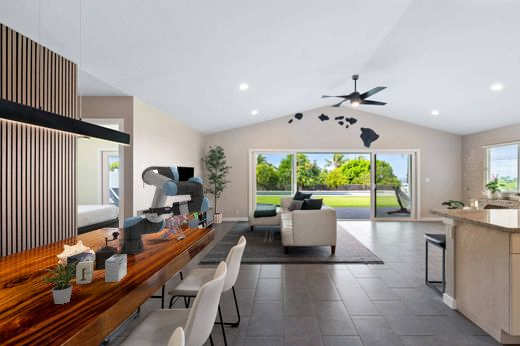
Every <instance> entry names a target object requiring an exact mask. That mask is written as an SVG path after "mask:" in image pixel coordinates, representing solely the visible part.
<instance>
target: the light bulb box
mask: <svg viewBox="0 0 520 346" xmlns="http://www.w3.org/2000/svg"><path fill="white" fill-rule="evenodd" d="M127 255H128V254H121V253H120V254H117V255H113V256H112V257H110V258H109V259H107V260H106V261H105V269H104V273H105V276H104V279H105V280H104V281H105V283H112V282H114V283H115V282H116V283H117V282H120V281H121V280H122V279H123V278H124V277H125V276H126V275H127V268H128V267H127V265H128V264H127V263H128V261H127V260H128V259H127V257H128V256H127Z"/></svg>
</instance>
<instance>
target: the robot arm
mask: <svg viewBox="0 0 520 346" xmlns="http://www.w3.org/2000/svg"><path fill="white" fill-rule="evenodd" d="M179 178H180V177H179V172H178V169H177V168H176V167H175V166H163V165H162V166H160V165H158V166H157V165H156V166H155V165H153V166H149V167H146V168H144V170H143V171H142V173H141V180H142V182H143V183H145V184H146V185H148V186H154V187H155V191H154V194H153V197H152V198H153V199H152V201H151V205H150V207H148V209H140V210H136V216H131V217H127V218H126V219H124V220H123V224H122V228H123V229H122V235H123V236H122V238H123V239H122V243H121V246H120V248H119V249H120V251H119V252H120V255H121V254H127V255H136V254H140V253H142V252H145V246H144V242H143V238H142V237H143V236H144V235H145V236H146V235H151V234H158V233H161V232H163V230H164V229H165V228H164V226H165V224H164V223H165V221H166V220H165V218H164V216H163V215H171V214H173V217H174V216H178V215H181V214H182V215H184V214H186V215H185V216H188V214H189V215H191V214H198V213H203V212H208V211H209V210H210V202H209V198H208V197H205V195H204V194H205V193H204V184H203V179H202V178H201V177H200V176H199V177H197V176H195V177H190V178H189V179H188V180H187V181H179ZM175 196H176V197H179V196H189V198H190V199H188V200H181V201H174V202H172V205H171V206H170V205H167V206H166V202H167V199H168V197H175ZM142 216H144V217H142Z"/></svg>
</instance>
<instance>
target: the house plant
mask: <svg viewBox="0 0 520 346" xmlns="http://www.w3.org/2000/svg"><path fill="white" fill-rule="evenodd" d="M76 262H77V261H76ZM76 262H74V263H73V264H72V263H71V264H72V265H71V264H69V265H68V267H69V266H70V265H71V266H70V267H69V269H68V267H67V266H65V265H66V264H65V263H63V265H60V264H58V263H57V262H56V263H55V264H56V266H52V267H53V268H54V269H55V270H56V271H57V272H58V273H57V272H56V271H54V270H52V269H49V268H48V269H47V268H44V270H45V271H48V273H50V274H51V275H53V276H54V277H47V276H42V277H39V279H42V280H45V281H46V282H44V283H43V286H44V285H46V284H50V283H51V284H53V285H54V286H53V287H52V288H51V291H52V296H53V301H54V305H55V304H62V305H65V304H64V303H66V304H68V303H70V300H71V297H72V296H71V295H72V292H73V291H72V290H73V285H74V284H71V283H70V281H72V280H73V279H76V278H75V277H74V278H73V277H71V276H72V275H74V274H71V273H72V272H73V271H74V270H75V269H74V270H73V271H70V270H72V269H73V267H74V266H75V265H74V264H75V263H76ZM73 265H74V266H73ZM77 266H78V265H77ZM77 266H76V267H77ZM76 267H75V268H76ZM71 268H72V269H71ZM67 269H68V272H67ZM67 302H68V303H67Z"/></svg>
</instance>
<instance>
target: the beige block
mask: <svg viewBox="0 0 520 346" xmlns="http://www.w3.org/2000/svg"><path fill="white" fill-rule="evenodd" d="M77 265H78V266H77ZM77 265H76V266H77V267H76V278H75V284H76V285H83V284H91V283H92V281H93V280H94V260H92V261H86V262H79V263H78V264H77Z"/></svg>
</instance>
